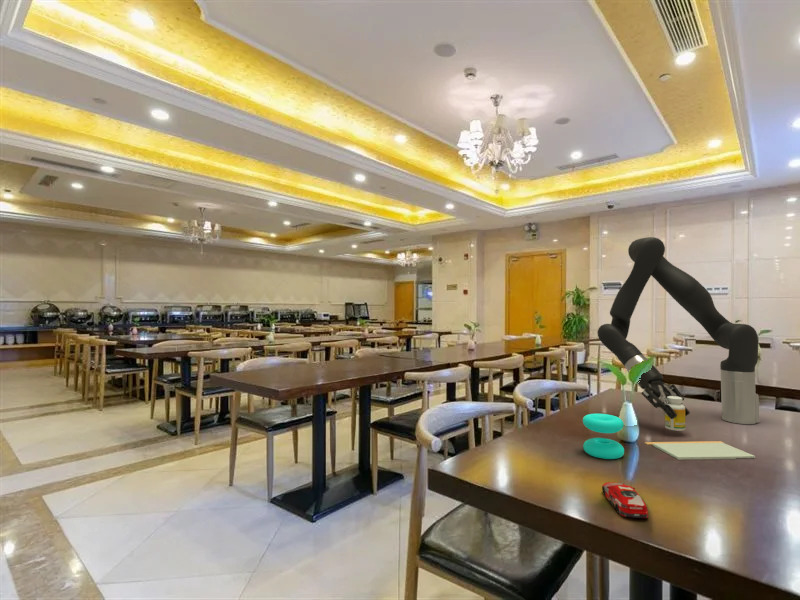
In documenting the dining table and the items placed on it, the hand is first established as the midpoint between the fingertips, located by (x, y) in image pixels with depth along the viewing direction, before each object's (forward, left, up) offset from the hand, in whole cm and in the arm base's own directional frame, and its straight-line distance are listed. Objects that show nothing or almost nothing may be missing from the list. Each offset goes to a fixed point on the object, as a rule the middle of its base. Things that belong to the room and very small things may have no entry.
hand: (680, 416), depth 129 cm
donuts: (+31, +15, -6) cm, 35 cm away
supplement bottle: (+1, -2, -4) cm, 5 cm away
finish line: (+4, +7, -6) cm, 10 cm away
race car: (+41, +43, -7) cm, 60 cm away
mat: (+4, +14, -6) cm, 16 cm away
